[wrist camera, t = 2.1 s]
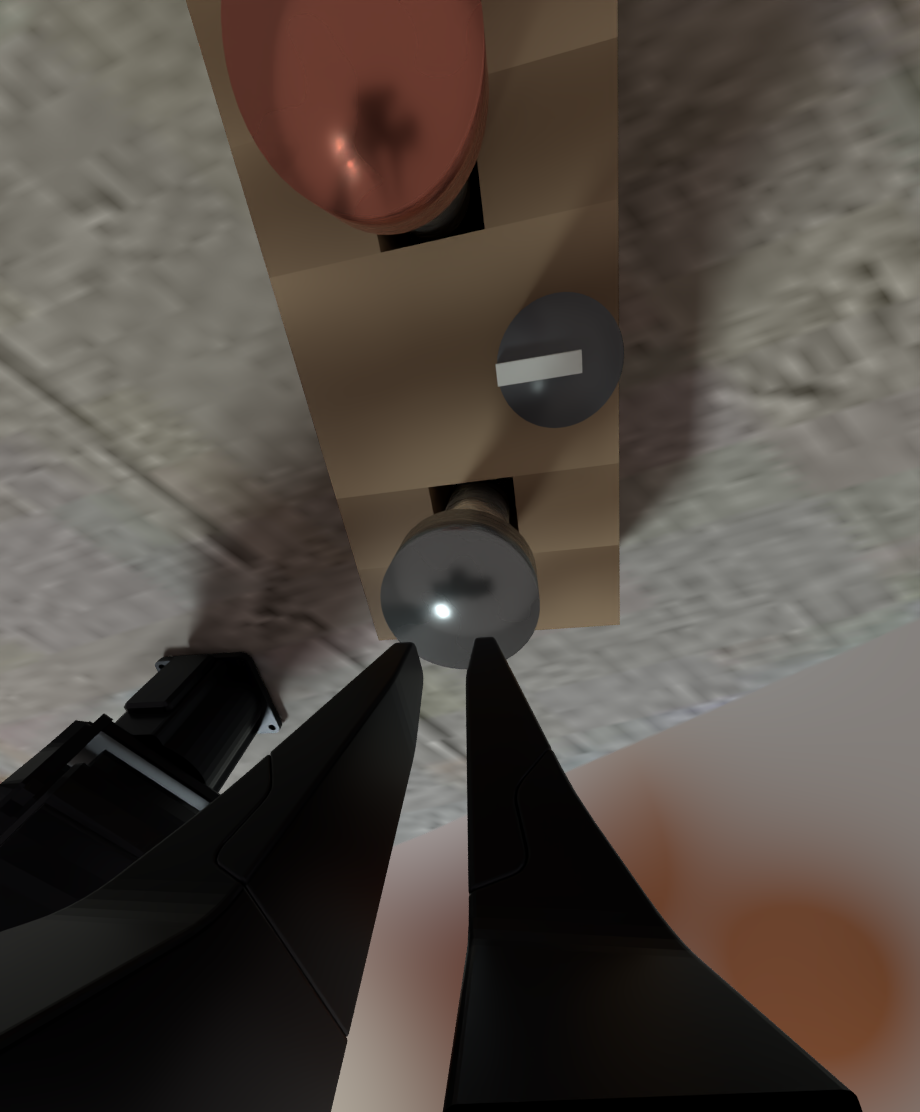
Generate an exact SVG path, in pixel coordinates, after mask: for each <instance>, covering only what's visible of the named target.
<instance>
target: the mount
mask: <svg viewBox="0 0 920 1112" xmlns="http://www.w3.org/2000/svg"><path fill="white" fill-rule="evenodd" d="M186 2H187V6H188V9H189V12H190V16H191V19H192V22H193V26H194V29H195V32H196V36H197V39H198V42H199V46H200V49H201V52H202V55H203V59H204V62H205V65H206V69H207V72H208V75H209V79H210V82H211V85H212V89H213V92H214V95H215V99H216V102H217V105H218V108H219V112H220V115H221V118H222V122H223V125H224V128H225V132H226V135H227V138H228V142H229V145H230V148H231V152H232V155H233V158H234V162H235V165H236V168H237V171H238V175H239V178H240V181H241V185H242V188H243V191H244V195H245V198H246V201H247V205H248V208H249V211H250V215H251V218H252V221H253V225H254V228H255V231H256V234H257V238H258V241H259V244H260V248H261V251H262V254H263V258H264V261H265V264H266V268H267V271H268V274H269V278H270V281H271V284H272V288H273V291H274V294H275V297H276V301H277V304H278V307H279V311H280V314H281V317H282V321H283V324H284V327H285V331H286V334H287V337H288V341H289V344H290V347H291V351H292V354H293V357H294V360H295V364H296V367H297V370H298V374H299V377H300V380H301V384H302V387H303V390H304V394H305V397H306V400H307V404H308V407H309V410H310V413H311V417H312V420H313V423H314V427H315V430H316V433H317V437H318V440H319V443H320V447H321V450H322V453H323V457H324V460H325V463H326V467H327V470H328V473H329V476H330V480H331V483H332V486H333V490H334V493H335V496H336V500H337V503H338V506H339V510H340V513H341V516H342V520H343V523H344V526H345V530H346V533H347V536H348V539H349V543H350V546H351V549H352V553H353V556H354V559H355V563H356V566H357V569H358V573H359V576H360V579H361V583H362V586H363V589H364V593H365V596H366V599H367V602H368V606H369V609H370V612H371V616H372V619H373V622H374V626H375V629H376V632H377V636H378V639H379V640H393V639H397V638H396V637H395V636H394V634H393V633H392V631H391V630H390V628H389V627H388V625H387V623H386V621H385V618H384V615H383V612H382V607H381V599H380V593H381V585H382V581H383V578H384V576H385V573H386V571H387V569H388V567H389V565H390V563H391V561H392V560H393V558H394V556H395V554H396V552H397V550H398V548H399V547H400V545H401V543H402V541H403V540H404V538H405V536H406V535H407V534H408V533H409V531H410V530H411V529H412V528H413V527H414V526H416V525H417V524H418V523H419V522H421V521H422V520H424V519H425V518H427V517H429V516H431V515H433V514H436V513H439V512H442V511H445V509H446V506H447V504H448V501H449V499H450V496H451V494H452V492H453V490H454V489H453V484H458V483H466V482H474V481H481V480H489V479H497V478H505V477H513V483H514V492H515V501H516V508H509V524H510V525H511V526H512V527H514V528H515V529H516V530H517V531H518V532H519V533H520V534H521V535H522V536H523V537H524V539H525V540H526V542H527V543H528V545H529V547H530V549H531V551H532V553H533V556H534V559H535V562H536V568H537V578H538V588H539V598H540V613H539V619H538V622H537V626H536V628H535V630H545V629H560V628H575V627H590V626H605V625H620V598H619V381H618V383H617V386H616V388H615V390H614V391H613V393H612V395H611V396H610V398H609V399H608V400H607V402H606V403H605V404H604V405H603V406H602V407H601V408H600V409H599V410H598V411H597V412H596V413H594V414H593V415H592V416H590V417H589V418H587V419H586V420H584V421H582V422H580V423H577V424H574V425H571V426H567V427H562V428H546V427H541V426H537V425H535V424H532V423H530V422H528V421H526V420H524V419H523V418H521V417H520V416H519V415H518V414H517V413H515V412H514V411H513V409H512V408H511V407H510V406H509V405H508V403H507V401H506V400H505V398H504V396H503V394H502V392H501V389H500V386H499V387H498V382H497V374H496V364H497V356H498V351H499V347H500V343H501V340H502V338H503V336H504V333H505V331H506V330H507V328H508V326H509V325H510V323H511V322H512V320H513V319H514V318H515V317H516V315H517V314H518V313H519V312H520V311H521V310H522V309H524V308H525V307H526V306H527V305H529V304H530V303H532V302H533V301H535V300H537V299H539V298H541V297H543V296H546V295H549V294H553V293H559V292H574V293H580V294H583V295H586V296H589V297H591V298H593V299H595V300H597V301H598V302H599V303H601V304H602V305H603V306H604V307H605V308H606V309H607V310H608V311H609V312H610V313H611V315H612V316H613V317H614V319H615V321H616V323H617V325H618V327H619V263H618V0H481V4H482V12H483V22H484V33H485V43H486V53H487V64H488V79H489V102H488V114H487V121H486V128H485V133H484V137H483V141H482V145H481V149H480V151H479V154H478V157H477V164H478V173H479V181H480V190H481V199H482V208H483V217H484V226H485V229H484V230H479V231H475V232H470V233H466V234H462V235H457V236H453V237H448V238H444V239H439V240H435V241H431V242H426V243H422V244H417V245H413V246H411V245H410V239H409V233H408V232H405V233H400V234H393V235H378V234H372V233H367V232H363V231H360V230H358V229H355V228H352V227H351V226H349V225H347V224H345V223H343V222H341V221H340V220H338V219H337V218H335V217H334V216H332V215H330V214H329V213H327V212H326V211H324V210H323V209H321V208H320V207H318V206H317V205H315V204H314V203H312V202H311V201H309V200H308V199H306V198H305V197H304V196H302V195H301V194H299V193H298V192H297V191H295V190H294V189H293V188H292V187H291V186H290V185H289V184H288V183H286V182H285V181H284V180H283V179H282V178H281V177H280V176H279V174H278V173H277V172H276V171H275V170H274V169H273V167H272V166H271V165H270V164H269V163H268V161H267V160H266V158H265V157H264V155H263V154H262V153H261V151H260V150H259V148H258V147H257V145H256V143H255V141H254V139H253V138H252V136H251V134H250V132H249V130H248V128H247V126H246V124H245V122H244V119H243V117H242V115H241V112H240V110H239V108H238V105H237V102H236V99H235V96H234V93H233V90H232V87H231V82H230V78H229V74H228V70H227V66H226V60H225V54H224V47H223V41H222V26H221V0H186Z"/></svg>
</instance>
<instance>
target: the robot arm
mask: <svg viewBox="0 0 920 1112" xmlns="http://www.w3.org/2000/svg"><path fill="white" fill-rule="evenodd" d="M155 667H156V669H157V671H158V673H157V674H156V675H155V676H154V677H153V678H151V679H150V680H149V681H148V682H147V683H146V684H145V685H144V686H143V687H142V688H141V689H140V690H139V691H138V692H137V693H136V694H135V695H134V696H132V697H131V698H130V699H129V700H128V701H127V702H126V704H125V706H124V708H125V710H126V711H127V712H125V713H124V714H123V715H122V716H121V717H120V718H119V719H118V720H117V721H116V722H115V723H114V722H112V720H113V719H112V718H110V717H109V716H107V715H106V714H103V715H102V716H101V717H100V718H98V719H97V720H96V721H95V722H94V723H92V722H84V721H77V720H76V721H74V722H73V723H72V724H71V725H70V726H69V727H68V728H66V729H65V730H64V731H63V732H62V733H61V734H60V735H59V736H57V737H56V738H55V739H54V740H53V741H52V742H51V743H49V744H48V745H47V746H46V747H45V748H44V749H42V750H41V751H40V752H39V753H37V754H36V755H35V756H34V757H33V758H31V759H30V760H29V761H28V762H27V763H25V764H24V765H23V766H22V767H20V768H19V769H18V770H17V771H16V772H14V773H13V774H12V775H11V776H9V777H8V778H7V779H6V780H5V781H3V782H2V783H1V784H0V1112H331V1109H332V1104H333V1100H334V1096H335V1092H336V1087H337V1083H338V1079H339V1075H340V1070H341V1066H342V1062H343V1058H344V1053H345V1049H346V1045H347V1038H346V1037H347V1036H348V1034H349V1031H350V1027H351V1022H352V1018H353V1014H354V1009H355V1005H356V1001H357V997H358V992H359V988H360V984H361V980H362V975H363V971H364V967H365V963H366V958H367V954H368V950H369V946H370V941H371V937H372V933H373V928H374V924H375V920H376V916H377V911H378V907H379V903H380V899H381V894H382V890H383V886H384V882H385V877H386V873H387V869H388V865H389V860H390V856H391V851H392V848H393V843H394V839H395V835H396V831H397V826H398V822H399V818H400V814H401V809H402V805H403V801H404V797H405V792H406V788H407V784H408V779H409V775H410V771H411V767H412V762H413V758H414V753H415V747H416V740H417V732H418V723H419V715H420V706H421V698H422V689H423V671H422V667H421V663H420V659H419V656H418V652H417V648H416V646H415V644H414V643H413V642H400V643H395V644H393V645H392V646H391V647H390V648H389V649H388V650H386V651H385V652H384V653H383V654H382V655H381V656H380V657H378V658H377V659H376V660H375V661H374V662H373V663H372V664H370V665H369V666H368V667H367V668H366V669H365V670H364V671H362V672H361V673H360V674H359V675H358V676H357V677H356V678H355V679H353V680H352V681H351V682H350V683H349V684H348V685H347V686H345V687H344V688H343V689H342V690H341V691H340V692H339V693H337V694H336V695H335V696H334V697H333V698H332V699H331V700H330V701H328V702H327V703H326V704H325V705H324V706H323V707H322V708H320V709H319V710H318V711H317V712H316V713H315V714H314V715H312V716H311V717H310V718H309V719H308V720H307V721H306V722H304V723H303V724H302V725H301V726H300V727H299V728H298V729H297V730H295V731H294V732H293V733H292V734H291V735H290V736H289V737H287V738H286V739H285V740H284V741H283V742H282V743H281V744H279V745H278V746H277V747H276V748H275V749H274V750H273V751H272V752H271V756H270V755H267V756H266V757H264V758H263V759H262V760H261V761H260V762H259V763H258V764H257V765H255V766H254V767H253V768H252V769H251V770H250V771H248V772H247V773H246V774H245V775H244V776H243V777H241V778H240V779H239V780H238V781H237V782H235V783H234V784H233V785H232V786H231V787H230V788H228V789H227V790H226V791H225V792H224V793H222V794H219V793H218V792H219V791H220V789H221V788H222V786H223V785H224V783H225V782H226V780H227V778H228V777H229V775H230V774H231V772H232V771H233V769H234V768H235V766H236V764H237V763H238V761H239V760H240V758H241V757H242V755H243V754H244V752H245V751H246V749H247V747H248V746H249V744H250V743H251V741H252V740H253V738H254V737H255V735H256V733H277V732H278V731H279V730H280V728H281V727H282V722H281V720H280V718H279V716H278V713H277V711H276V709H275V707H274V705H273V703H272V701H271V698H270V696H269V694H268V692H267V690H266V688H265V686H264V684H263V681H262V679H261V677H260V675H259V673H258V671H257V669H256V667H255V664H254V662H253V660H252V658H251V657H250V655H248V654H247V653H244V652H236V653H221V654H201V655H186V656H175V657H163V658H161V659H160V660H158V661H157V662H156V663H155ZM466 734H467V810H468V884H469V885H468V886H469V927H468V946H467V953H466V960H465V967H464V973H463V981H462V987H461V993H460V1000H459V1007H458V1014H457V1020H456V1027H455V1033H454V1040H453V1047H452V1054H451V1060H450V1067H449V1074H448V1080H447V1088H446V1094H445V1100H444V1107H443V1112H862V1109H861V1106H860V1103H859V1101H858V1098H857V1096H856V1095H855V1094H854V1093H853V1092H852V1091H851V1090H849V1089H848V1088H847V1087H846V1086H845V1085H844V1084H842V1083H841V1082H840V1081H839V1080H838V1079H837V1078H836V1077H835V1076H833V1075H832V1074H831V1073H830V1072H829V1071H828V1070H826V1069H825V1068H824V1067H823V1066H822V1065H821V1064H820V1063H818V1062H817V1061H816V1060H815V1059H814V1058H813V1057H812V1056H811V1055H809V1054H808V1053H807V1052H806V1051H805V1050H804V1049H802V1048H801V1047H800V1046H799V1045H798V1044H797V1043H795V1042H794V1041H793V1040H792V1039H791V1038H790V1037H789V1036H787V1035H786V1034H785V1033H784V1032H783V1031H782V1030H781V1029H780V1028H778V1027H777V1026H776V1025H775V1024H774V1023H773V1022H772V1021H770V1020H769V1019H768V1018H767V1017H766V1016H765V1015H764V1014H762V1013H761V1012H760V1011H759V1010H758V1009H757V1008H756V1007H754V1006H753V1005H752V1004H751V1003H750V1002H749V1001H747V1000H746V999H745V998H744V997H743V996H742V995H741V994H740V993H738V992H737V991H736V990H735V989H733V987H731V986H730V985H729V984H728V983H727V982H726V981H725V980H723V979H722V978H721V977H720V976H719V975H718V974H717V973H715V972H714V971H713V970H712V969H711V968H710V967H709V966H707V965H706V964H705V963H704V962H703V961H702V960H701V959H700V958H698V957H697V956H696V955H695V954H694V953H693V952H692V951H691V950H690V949H689V948H688V947H687V946H686V945H685V944H684V943H683V941H682V940H681V939H680V938H679V937H678V936H677V935H676V933H675V932H674V931H673V930H672V929H671V927H670V926H669V925H668V924H667V922H666V921H665V920H664V919H663V918H662V916H661V915H660V913H659V912H658V911H657V909H656V908H655V907H654V905H653V904H652V902H651V901H650V900H649V898H648V897H647V896H646V894H645V893H644V892H643V890H642V888H641V887H640V886H639V884H638V883H637V882H636V880H635V878H634V877H633V876H632V874H631V873H630V871H629V870H628V868H627V867H626V866H625V864H624V863H623V861H622V860H621V859H620V857H619V856H618V854H617V853H616V851H615V850H614V849H613V847H612V846H611V844H610V843H609V842H608V840H607V839H606V837H605V836H604V834H603V833H602V831H601V830H600V829H599V827H598V826H597V824H596V823H595V821H594V820H593V818H592V817H591V815H590V814H589V812H588V811H587V809H586V808H585V806H584V805H583V803H582V802H581V800H580V798H579V797H578V796H577V794H576V792H575V790H574V789H573V787H572V785H571V783H570V782H569V780H568V778H567V776H566V774H565V773H564V771H563V769H562V767H561V765H560V763H559V762H558V760H557V758H556V756H555V754H554V752H553V751H552V750H551V746H550V745H549V743H548V741H547V739H546V737H545V735H544V733H543V731H542V729H541V727H540V725H539V723H538V721H537V719H536V717H535V715H534V713H533V711H532V709H531V708H530V706H529V704H528V702H527V700H526V698H525V696H524V694H523V692H522V690H521V688H520V686H519V684H518V682H517V680H516V678H515V676H514V674H513V672H512V671H511V669H510V667H509V665H508V663H507V661H506V659H505V657H504V655H503V653H502V651H501V649H500V647H499V645H498V643H497V641H496V639H495V638H494V637H479V638H476V639H475V640H474V643H473V647H472V652H471V656H470V661H469V665H468V669H467V675H466Z"/></svg>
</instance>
